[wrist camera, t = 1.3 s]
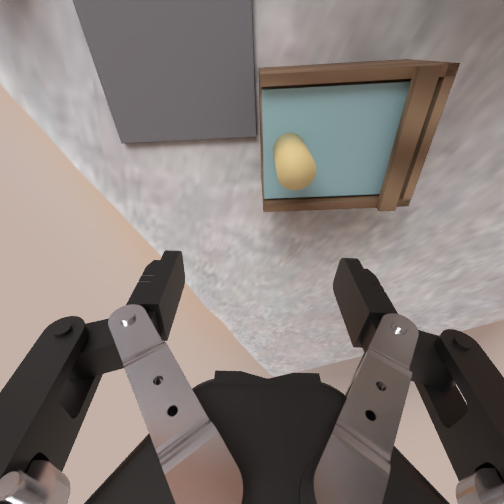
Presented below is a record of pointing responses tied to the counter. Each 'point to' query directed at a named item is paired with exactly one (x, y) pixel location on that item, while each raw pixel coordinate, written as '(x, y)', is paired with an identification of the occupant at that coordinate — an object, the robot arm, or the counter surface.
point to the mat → (174, 66)
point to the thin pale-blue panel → (329, 138)
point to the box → (408, 134)
